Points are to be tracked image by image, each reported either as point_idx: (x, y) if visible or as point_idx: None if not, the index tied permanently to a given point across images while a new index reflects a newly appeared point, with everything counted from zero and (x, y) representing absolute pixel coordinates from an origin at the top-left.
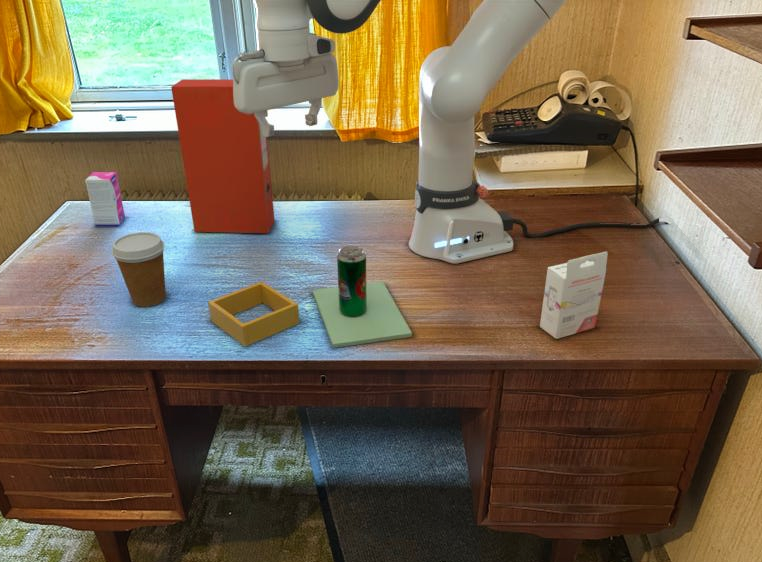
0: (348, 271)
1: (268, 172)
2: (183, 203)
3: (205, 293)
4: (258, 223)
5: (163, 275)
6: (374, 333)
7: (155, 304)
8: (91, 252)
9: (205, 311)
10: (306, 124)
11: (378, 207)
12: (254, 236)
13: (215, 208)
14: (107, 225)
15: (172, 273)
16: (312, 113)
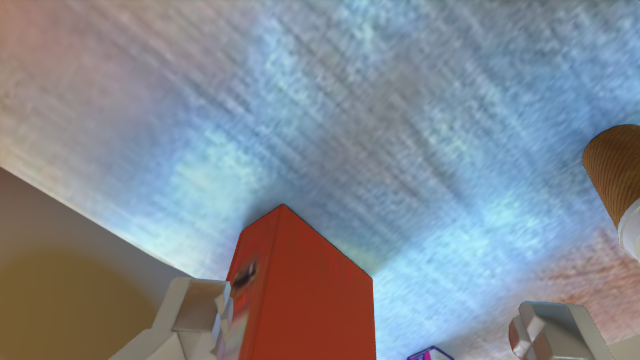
0: None
1: None
2: None
3: (543, 97)
4: (292, 227)
5: (628, 157)
6: None
7: (634, 125)
8: None
9: (612, 33)
10: (232, 308)
11: (22, 151)
12: (307, 211)
13: (344, 292)
14: (444, 353)
15: (508, 197)
16: (174, 355)
